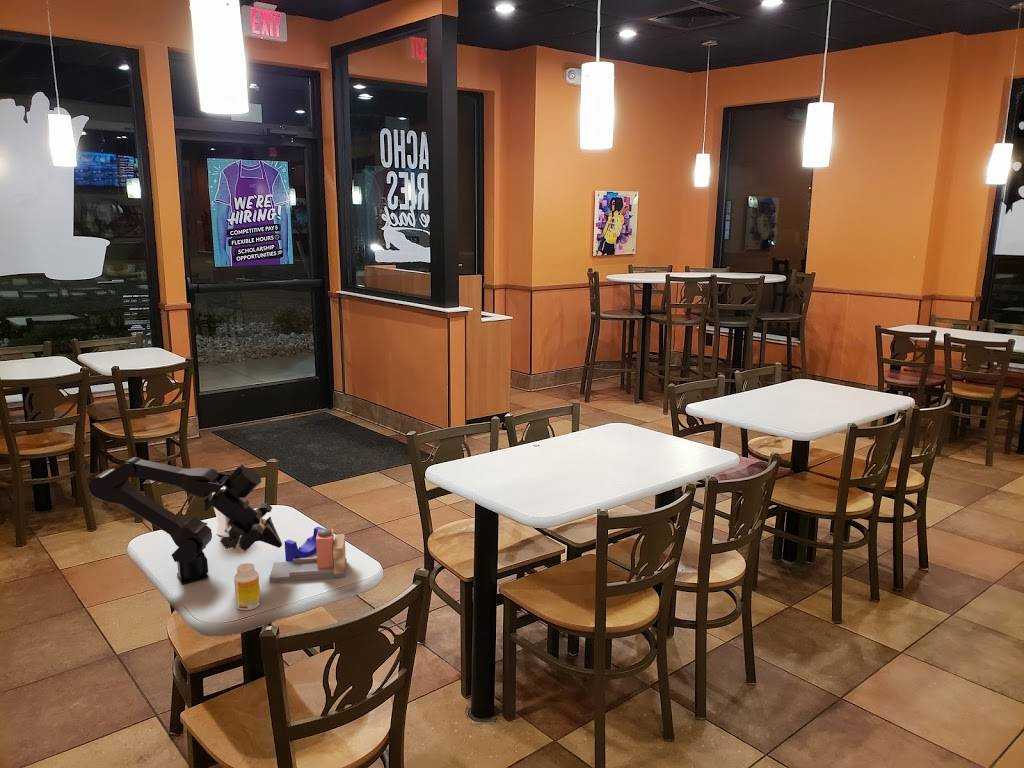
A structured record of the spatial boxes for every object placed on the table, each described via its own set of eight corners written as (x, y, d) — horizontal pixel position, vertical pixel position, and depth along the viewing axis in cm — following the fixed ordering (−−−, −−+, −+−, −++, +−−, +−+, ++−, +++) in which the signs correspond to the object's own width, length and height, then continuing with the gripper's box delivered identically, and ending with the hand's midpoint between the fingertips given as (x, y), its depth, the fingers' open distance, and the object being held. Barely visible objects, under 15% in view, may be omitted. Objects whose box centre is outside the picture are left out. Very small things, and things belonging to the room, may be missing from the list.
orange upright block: (317, 571, 199) (315, 536, 197) (319, 561, 205) (317, 527, 203) (333, 570, 200) (331, 535, 198) (334, 560, 205) (333, 526, 203)
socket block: (334, 573, 198) (332, 548, 197) (336, 558, 207) (335, 534, 205) (343, 573, 199) (342, 548, 197) (345, 557, 207) (344, 534, 206)
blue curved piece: (315, 544, 219) (314, 525, 217) (326, 548, 216) (325, 528, 215) (282, 560, 209) (280, 540, 208) (293, 564, 207) (291, 544, 205)
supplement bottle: (265, 605, 185) (262, 566, 183) (243, 613, 181) (240, 574, 179) (253, 597, 189) (250, 559, 186) (232, 605, 185) (228, 566, 182)
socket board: (269, 582, 196) (268, 574, 196) (274, 566, 205) (273, 559, 204) (344, 577, 199) (344, 569, 199) (346, 561, 208) (346, 554, 207)
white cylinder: (245, 530, 227) (241, 483, 224) (225, 539, 222) (221, 490, 218) (230, 525, 231) (226, 478, 228) (210, 533, 225) (206, 485, 222)
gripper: (219, 515, 204) (264, 551, 208) (204, 545, 186) (253, 584, 190) (248, 486, 204) (293, 523, 208) (235, 514, 186) (284, 553, 190)
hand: (280, 546), depth 199 cm, fingers closed
